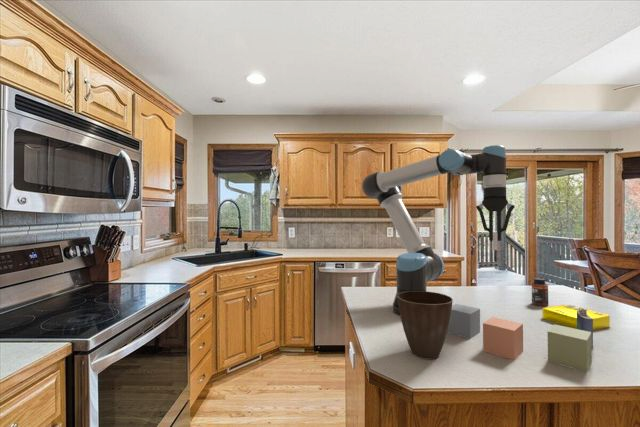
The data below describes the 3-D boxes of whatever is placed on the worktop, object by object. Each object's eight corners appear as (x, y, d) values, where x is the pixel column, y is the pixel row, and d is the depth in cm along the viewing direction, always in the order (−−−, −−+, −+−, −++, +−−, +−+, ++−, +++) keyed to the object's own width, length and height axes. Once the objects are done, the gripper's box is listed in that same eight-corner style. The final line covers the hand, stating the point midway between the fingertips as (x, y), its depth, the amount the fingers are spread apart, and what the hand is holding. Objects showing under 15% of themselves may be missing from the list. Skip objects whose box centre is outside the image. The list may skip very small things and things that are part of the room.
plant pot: (386, 351, 88) (386, 295, 88) (417, 338, 97) (417, 288, 97) (433, 371, 76) (433, 307, 76) (463, 355, 85) (463, 298, 85)
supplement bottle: (547, 303, 135) (547, 278, 135) (549, 307, 130) (548, 280, 130) (531, 301, 138) (531, 277, 138) (532, 305, 133) (531, 279, 133)
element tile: (539, 318, 117) (539, 306, 117) (566, 314, 122) (566, 302, 122) (584, 333, 102) (584, 318, 102) (612, 327, 107) (612, 314, 107)
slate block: (470, 339, 97) (470, 313, 97) (445, 332, 103) (445, 308, 103) (480, 332, 102) (480, 308, 102) (456, 326, 108) (456, 303, 108)
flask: (594, 350, 88) (594, 313, 89) (581, 348, 90) (581, 311, 90) (585, 339, 96) (585, 305, 97) (573, 337, 98) (573, 303, 98)
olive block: (587, 372, 76) (586, 340, 76) (547, 361, 82) (547, 331, 82) (591, 362, 81) (591, 332, 81) (554, 352, 87) (554, 324, 87)
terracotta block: (514, 360, 82) (514, 330, 82) (483, 350, 88) (482, 323, 88) (523, 351, 88) (522, 323, 88) (492, 343, 94) (492, 316, 94)
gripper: (514, 187, 115) (514, 249, 115) (475, 188, 121) (475, 247, 121) (515, 185, 109) (516, 251, 108) (475, 187, 115) (475, 249, 115)
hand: (495, 249), depth 115 cm, fingers closed
